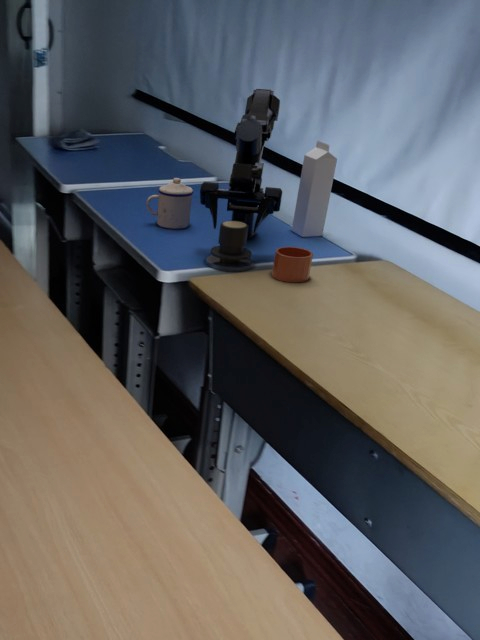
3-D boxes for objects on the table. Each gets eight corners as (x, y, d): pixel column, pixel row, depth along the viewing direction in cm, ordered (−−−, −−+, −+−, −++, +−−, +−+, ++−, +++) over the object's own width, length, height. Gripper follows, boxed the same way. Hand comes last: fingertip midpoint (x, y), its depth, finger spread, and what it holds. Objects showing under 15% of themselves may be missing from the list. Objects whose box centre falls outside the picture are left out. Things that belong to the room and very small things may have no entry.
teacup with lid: (189, 220, 226) (193, 175, 219) (190, 230, 218) (195, 183, 211) (145, 219, 226) (148, 173, 219) (145, 228, 219) (148, 181, 212)
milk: (302, 237, 216) (318, 145, 203) (291, 230, 220) (306, 140, 208) (322, 236, 217) (340, 144, 204) (311, 229, 222) (327, 140, 209)
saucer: (216, 254, 202) (216, 250, 201) (259, 262, 197) (259, 258, 197) (198, 265, 194) (199, 262, 193) (243, 274, 189) (243, 271, 189)
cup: (278, 268, 194) (282, 244, 191) (312, 274, 191) (317, 250, 187) (266, 277, 188) (270, 253, 185) (301, 284, 185) (306, 260, 182)
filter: (230, 252, 201) (235, 216, 196) (259, 263, 194) (264, 226, 189) (200, 258, 196) (205, 221, 191) (228, 269, 190) (233, 232, 185)
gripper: (205, 144, 189) (193, 206, 187) (288, 150, 185) (277, 214, 183) (206, 173, 200) (195, 232, 197) (285, 180, 196) (274, 240, 194)
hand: (234, 229), depth 193 cm, fingers open, 9 cm apart
